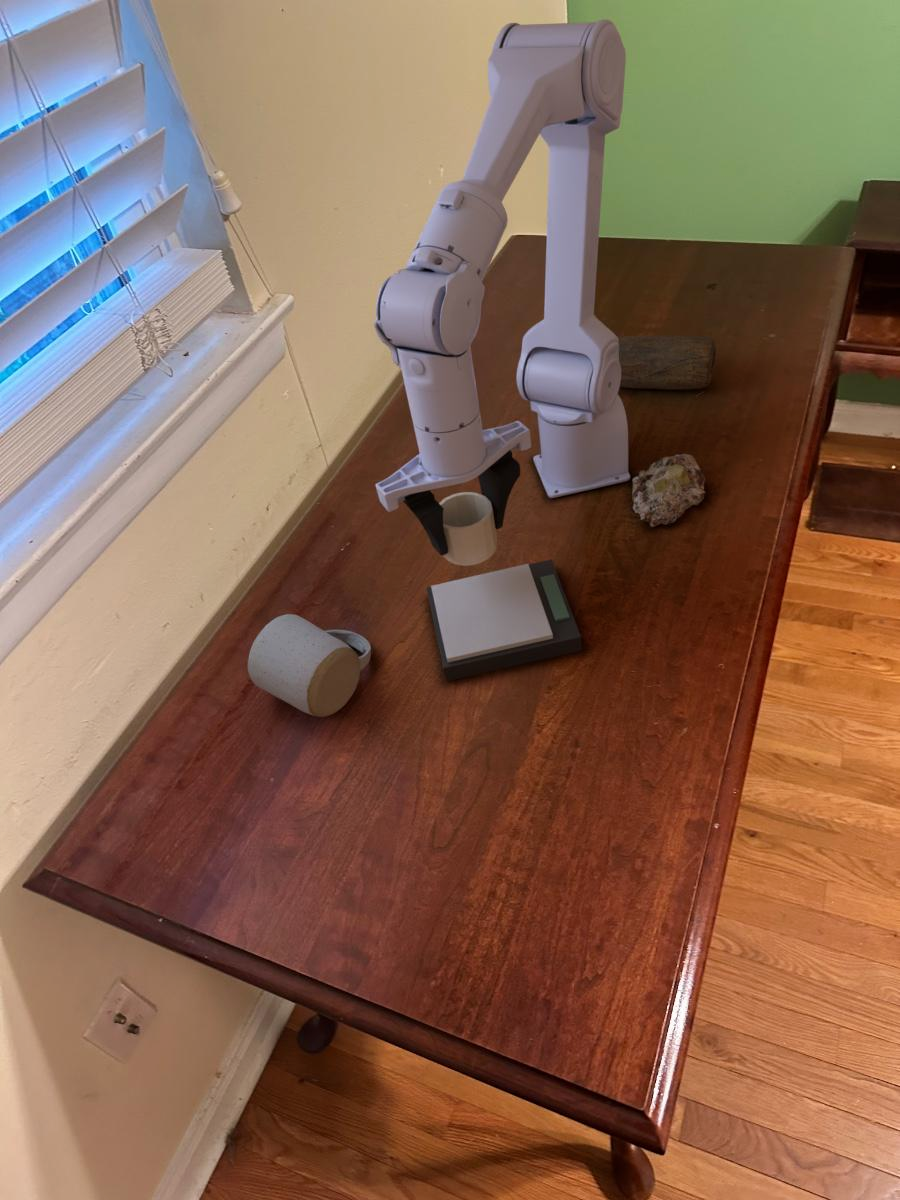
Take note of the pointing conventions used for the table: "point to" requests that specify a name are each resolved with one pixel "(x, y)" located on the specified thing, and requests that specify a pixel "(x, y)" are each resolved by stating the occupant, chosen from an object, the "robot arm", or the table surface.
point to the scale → (502, 620)
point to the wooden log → (666, 362)
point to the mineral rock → (668, 489)
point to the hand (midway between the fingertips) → (467, 535)
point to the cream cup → (468, 528)
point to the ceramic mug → (307, 664)
